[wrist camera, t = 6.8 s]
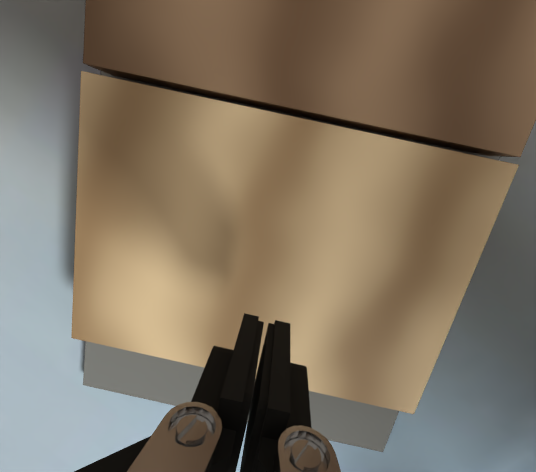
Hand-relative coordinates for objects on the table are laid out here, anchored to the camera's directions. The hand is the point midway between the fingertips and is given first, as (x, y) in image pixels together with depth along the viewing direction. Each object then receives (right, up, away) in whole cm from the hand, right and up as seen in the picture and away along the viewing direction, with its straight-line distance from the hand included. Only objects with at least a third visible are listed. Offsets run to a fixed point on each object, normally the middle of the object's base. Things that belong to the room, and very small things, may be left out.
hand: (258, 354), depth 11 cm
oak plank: (0, +4, +4) cm, 6 cm away
